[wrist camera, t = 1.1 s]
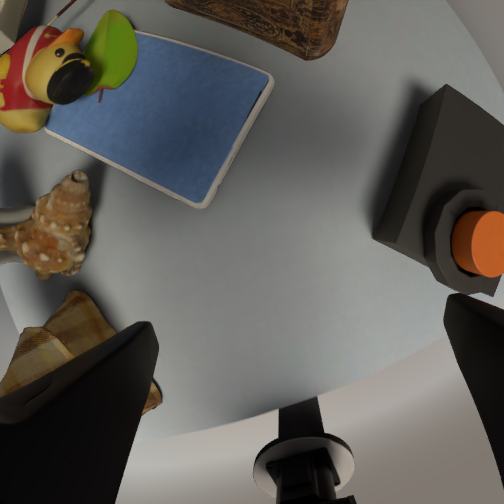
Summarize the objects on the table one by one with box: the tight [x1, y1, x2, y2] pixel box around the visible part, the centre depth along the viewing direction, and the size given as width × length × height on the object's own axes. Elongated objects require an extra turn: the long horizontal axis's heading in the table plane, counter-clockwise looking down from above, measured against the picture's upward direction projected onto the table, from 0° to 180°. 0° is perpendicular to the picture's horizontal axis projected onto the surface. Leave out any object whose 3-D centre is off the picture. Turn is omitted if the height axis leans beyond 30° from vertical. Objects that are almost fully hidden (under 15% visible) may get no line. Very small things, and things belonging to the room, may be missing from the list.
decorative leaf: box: [83, 10, 138, 103], centre depth 22 cm, size 8×9×1 cm
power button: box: [451, 211, 504, 278], centre depth 16 cm, size 4×4×3 cm
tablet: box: [44, 30, 275, 209], centre depth 24 cm, size 19×13×1 cm, turn 62°
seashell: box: [15, 170, 93, 281], centre depth 24 cm, size 9×8×10 cm
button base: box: [373, 84, 504, 297], centre depth 20 cm, size 14×10×7 cm
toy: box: [0, 25, 95, 133], centre depth 20 cm, size 9×11×10 cm
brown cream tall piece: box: [0, 290, 162, 415], centre depth 16 cm, size 14×14×25 cm
